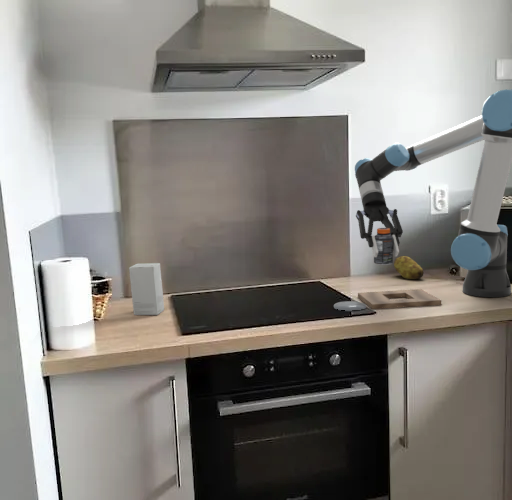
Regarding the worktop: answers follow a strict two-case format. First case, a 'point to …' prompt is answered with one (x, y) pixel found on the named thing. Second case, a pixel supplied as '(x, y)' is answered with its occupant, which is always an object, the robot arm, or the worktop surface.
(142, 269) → the skincare box
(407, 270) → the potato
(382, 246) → the pill bottle
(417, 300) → the pocket board
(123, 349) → the worktop surface
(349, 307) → the coaster
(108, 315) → the worktop surface
